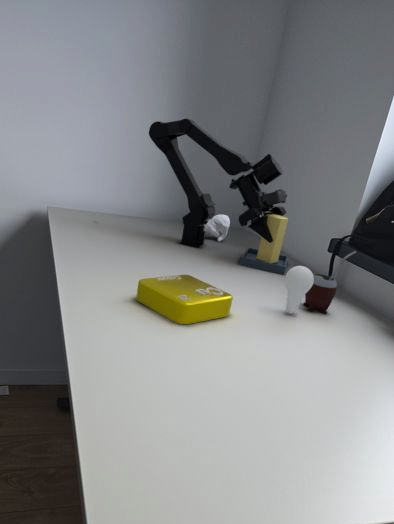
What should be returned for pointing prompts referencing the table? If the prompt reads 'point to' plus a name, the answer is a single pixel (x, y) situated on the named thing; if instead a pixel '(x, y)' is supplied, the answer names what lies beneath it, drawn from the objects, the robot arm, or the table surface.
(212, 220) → the white irregular rounded piece
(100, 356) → the table surface
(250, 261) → the tray
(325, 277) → the mate gourd
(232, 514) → the table surface
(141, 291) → the element tile
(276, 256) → the sponge
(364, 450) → the table surface
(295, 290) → the lightbulb
